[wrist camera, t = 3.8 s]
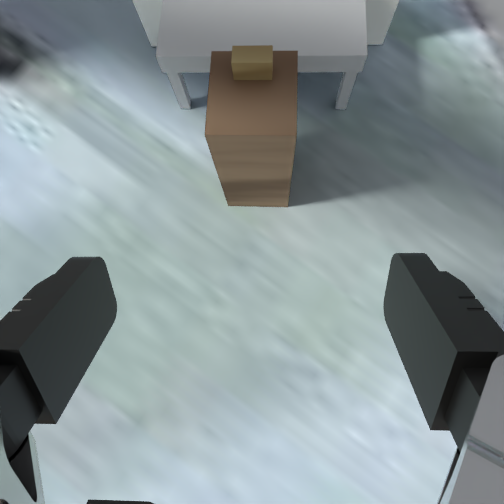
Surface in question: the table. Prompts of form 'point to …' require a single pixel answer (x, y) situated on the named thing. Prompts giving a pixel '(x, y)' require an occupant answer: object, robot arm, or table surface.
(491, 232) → the table surface
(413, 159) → the table surface
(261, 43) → the wall shelf
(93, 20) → the table surface
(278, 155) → the brown tall block
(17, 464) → the robot arm
